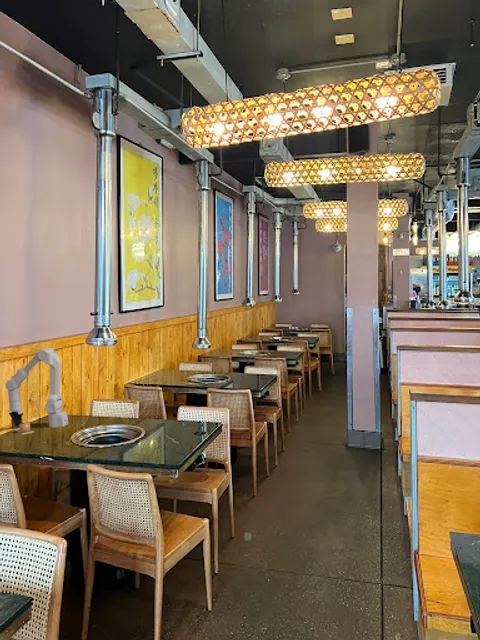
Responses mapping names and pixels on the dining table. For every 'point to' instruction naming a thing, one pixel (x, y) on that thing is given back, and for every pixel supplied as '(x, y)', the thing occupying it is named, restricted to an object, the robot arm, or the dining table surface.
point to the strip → (18, 427)
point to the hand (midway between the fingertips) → (17, 425)
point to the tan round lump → (25, 427)
